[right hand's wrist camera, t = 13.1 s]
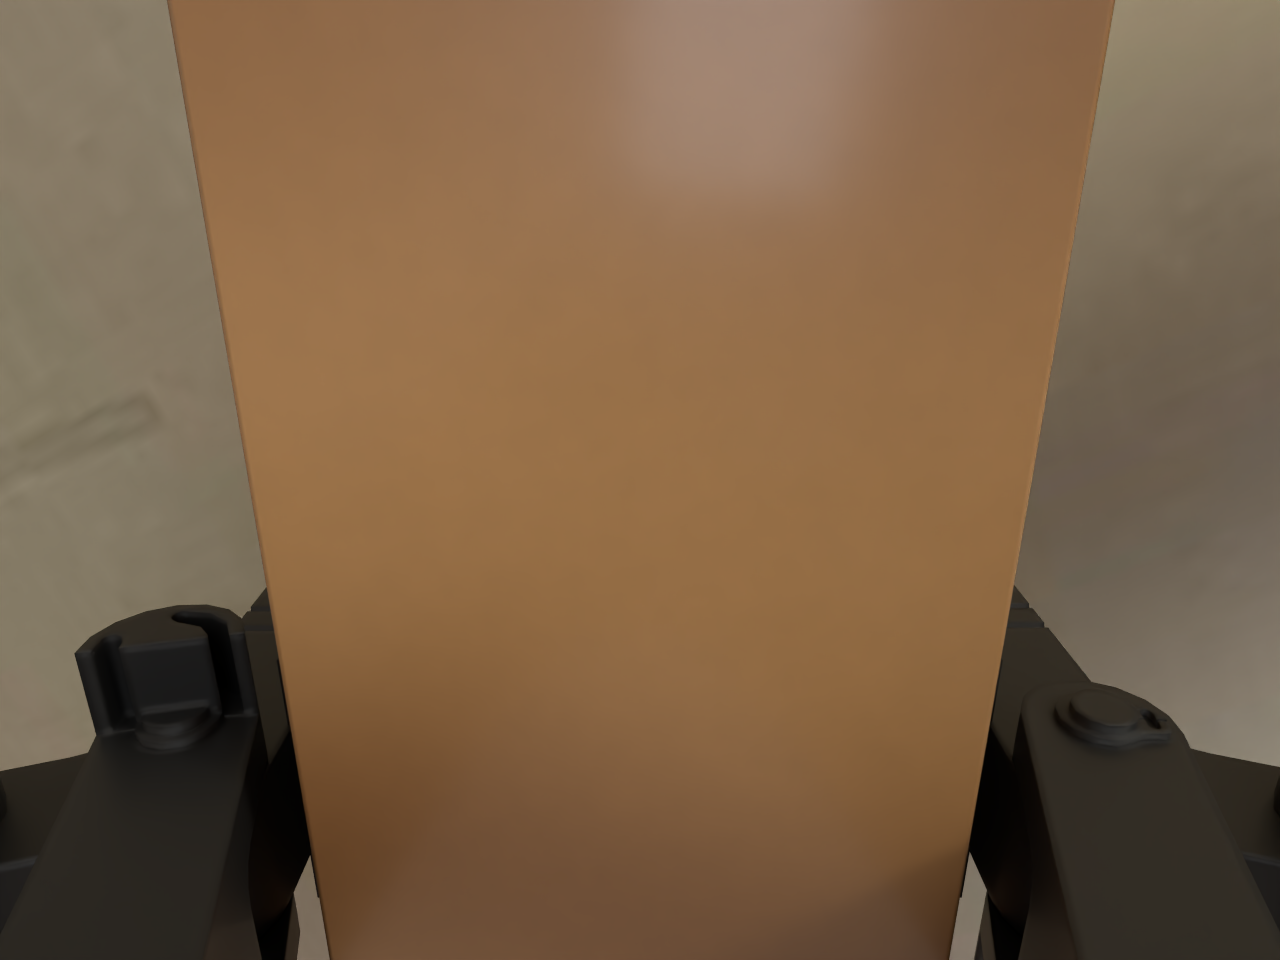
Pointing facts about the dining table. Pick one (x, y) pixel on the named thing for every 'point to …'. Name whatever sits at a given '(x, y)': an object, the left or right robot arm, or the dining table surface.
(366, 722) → the board
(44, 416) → the dining table surface
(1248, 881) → the right robot arm
